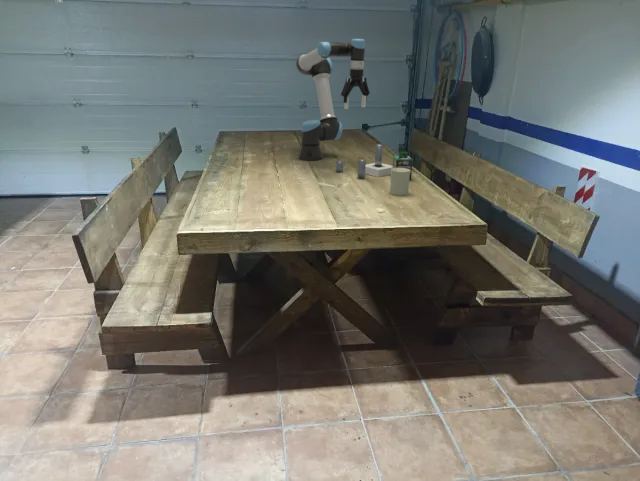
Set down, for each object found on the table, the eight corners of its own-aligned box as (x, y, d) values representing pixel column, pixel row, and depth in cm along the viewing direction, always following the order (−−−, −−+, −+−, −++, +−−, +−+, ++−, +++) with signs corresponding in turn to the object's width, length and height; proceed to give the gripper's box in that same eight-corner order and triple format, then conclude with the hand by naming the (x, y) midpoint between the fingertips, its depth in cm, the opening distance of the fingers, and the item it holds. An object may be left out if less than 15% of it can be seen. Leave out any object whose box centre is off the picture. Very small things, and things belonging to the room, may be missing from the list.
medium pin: (356, 177, 265) (356, 159, 261) (361, 176, 267) (362, 158, 264) (361, 179, 262) (362, 161, 258) (366, 178, 264) (367, 160, 261)
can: (388, 190, 243) (390, 166, 239) (407, 190, 243) (409, 166, 239) (390, 195, 235) (392, 170, 230) (409, 195, 235) (411, 171, 230)
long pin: (372, 172, 277) (374, 144, 271) (377, 171, 279) (379, 143, 273) (377, 174, 274) (379, 145, 268) (382, 173, 276) (384, 145, 270)
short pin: (334, 171, 278) (334, 161, 276) (339, 170, 280) (339, 160, 278) (339, 172, 275) (339, 162, 273) (344, 172, 277) (344, 161, 275)
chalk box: (407, 176, 271) (409, 149, 265) (411, 180, 262) (414, 153, 257) (391, 176, 270) (393, 149, 265) (394, 180, 262) (396, 153, 256)
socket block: (360, 172, 277) (360, 165, 276) (377, 168, 286) (378, 162, 284) (378, 177, 267) (378, 170, 266) (395, 173, 276) (395, 166, 274)
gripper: (344, 69, 260) (343, 110, 268) (377, 68, 275) (374, 107, 283) (335, 68, 265) (334, 108, 273) (367, 68, 280) (365, 105, 288)
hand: (354, 108), depth 278 cm, fingers open, 13 cm apart
